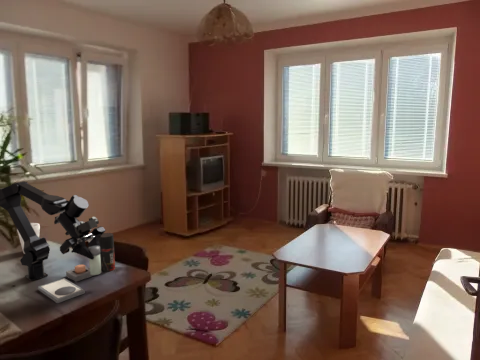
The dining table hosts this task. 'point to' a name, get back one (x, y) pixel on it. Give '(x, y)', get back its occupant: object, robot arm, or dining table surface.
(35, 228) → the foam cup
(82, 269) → the button
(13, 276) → the dining table surface
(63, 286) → the board
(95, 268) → the knob
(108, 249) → the deodorant
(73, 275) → the button housing
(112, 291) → the dining table surface
